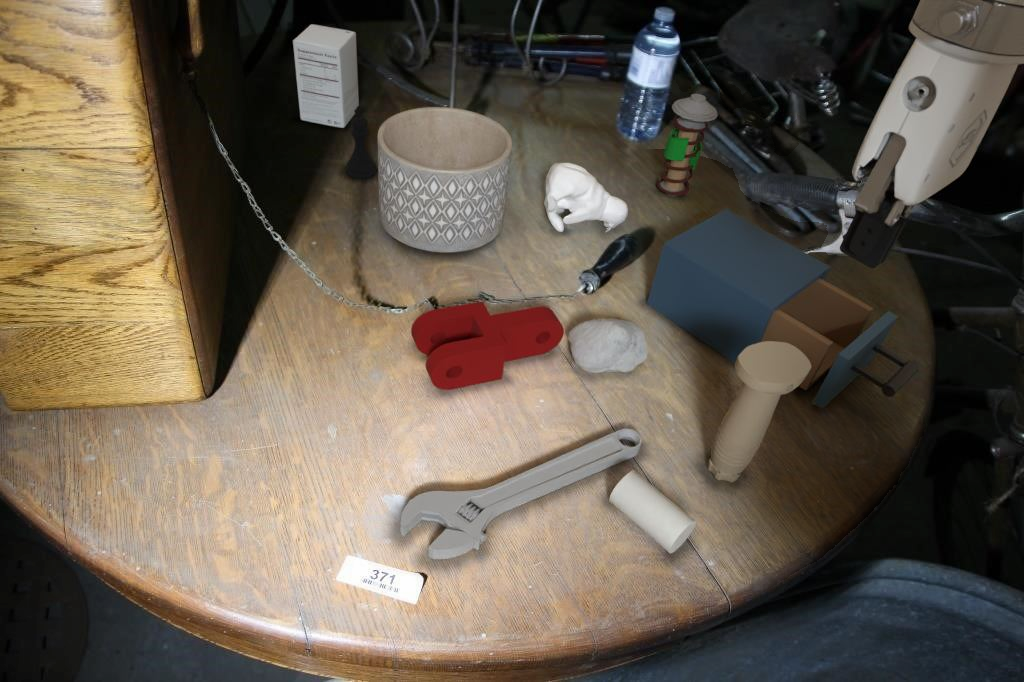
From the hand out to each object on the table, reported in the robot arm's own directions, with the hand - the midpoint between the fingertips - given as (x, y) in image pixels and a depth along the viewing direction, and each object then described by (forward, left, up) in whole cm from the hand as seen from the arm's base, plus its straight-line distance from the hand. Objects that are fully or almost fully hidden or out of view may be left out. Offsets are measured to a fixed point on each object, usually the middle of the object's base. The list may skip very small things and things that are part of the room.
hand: (861, 256), depth 59 cm
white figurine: (+39, -16, -25) cm, 49 cm away
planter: (+50, 0, -25) cm, 56 cm away
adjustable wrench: (+11, +22, -25) cm, 35 cm away
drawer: (+3, -16, -24) cm, 29 cm away
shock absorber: (+37, -34, -25) cm, 56 cm away
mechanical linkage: (+27, +12, -25) cm, 39 cm away
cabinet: (+15, -16, -25) cm, 33 cm away
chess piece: (+67, +1, -25) cm, 72 cm away
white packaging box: (+84, -5, -25) cm, 88 cm away
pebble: (+19, +2, -25) cm, 32 cm away
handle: (+1, +5, -25) cm, 25 cm away
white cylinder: (+2, +15, -25) cm, 29 cm away
